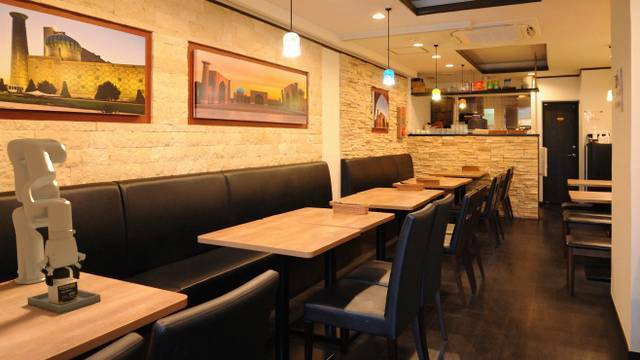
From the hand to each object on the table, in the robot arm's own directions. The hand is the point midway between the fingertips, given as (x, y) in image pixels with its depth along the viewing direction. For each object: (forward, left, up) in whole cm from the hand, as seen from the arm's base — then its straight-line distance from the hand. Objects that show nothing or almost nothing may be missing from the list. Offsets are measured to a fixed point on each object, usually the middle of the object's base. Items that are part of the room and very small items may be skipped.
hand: (63, 282), depth 170 cm
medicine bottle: (0, 0, -7) cm, 7 cm away
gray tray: (0, 0, -8) cm, 8 cm away
